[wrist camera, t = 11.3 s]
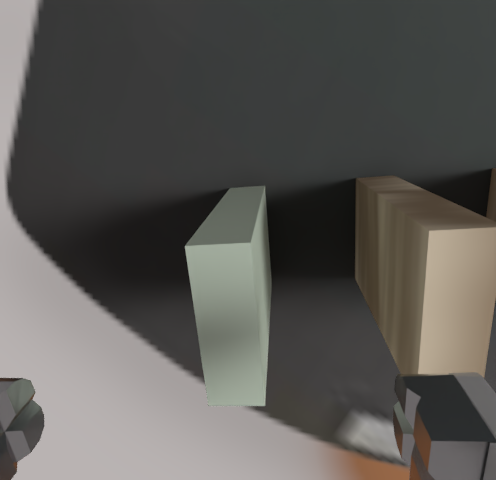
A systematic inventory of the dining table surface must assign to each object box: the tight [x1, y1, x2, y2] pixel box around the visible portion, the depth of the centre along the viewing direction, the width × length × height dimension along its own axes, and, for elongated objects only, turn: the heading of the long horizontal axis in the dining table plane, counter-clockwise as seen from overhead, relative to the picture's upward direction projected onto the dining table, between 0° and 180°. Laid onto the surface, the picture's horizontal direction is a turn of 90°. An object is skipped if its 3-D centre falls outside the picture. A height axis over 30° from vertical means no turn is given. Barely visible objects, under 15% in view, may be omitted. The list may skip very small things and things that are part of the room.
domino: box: [355, 175, 496, 378], centre depth 15 cm, size 2×6×10 cm, turn 5°
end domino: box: [185, 186, 272, 406], centre depth 16 cm, size 2×6×10 cm, turn 5°
